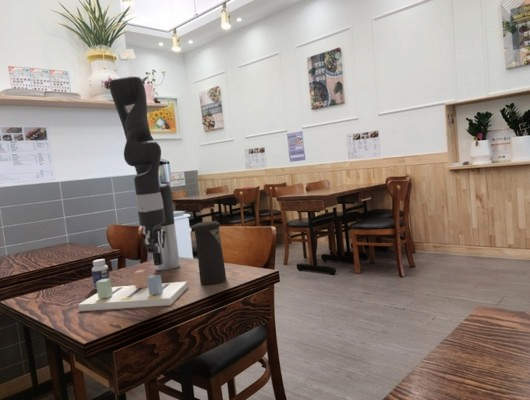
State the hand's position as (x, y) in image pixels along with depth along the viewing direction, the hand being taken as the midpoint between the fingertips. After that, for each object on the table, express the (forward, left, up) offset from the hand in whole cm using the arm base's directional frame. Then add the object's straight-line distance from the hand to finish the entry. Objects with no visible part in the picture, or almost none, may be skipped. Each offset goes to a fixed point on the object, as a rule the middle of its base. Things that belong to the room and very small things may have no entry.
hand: (158, 264), depth 123 cm
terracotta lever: (-4, -8, -8) cm, 12 cm away
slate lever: (+4, 0, -7) cm, 9 cm away
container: (-12, +13, -10) cm, 20 cm away
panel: (+1, -8, -10) cm, 13 cm away
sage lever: (+4, -16, -8) cm, 18 cm away
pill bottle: (-15, -28, -10) cm, 34 cm away
